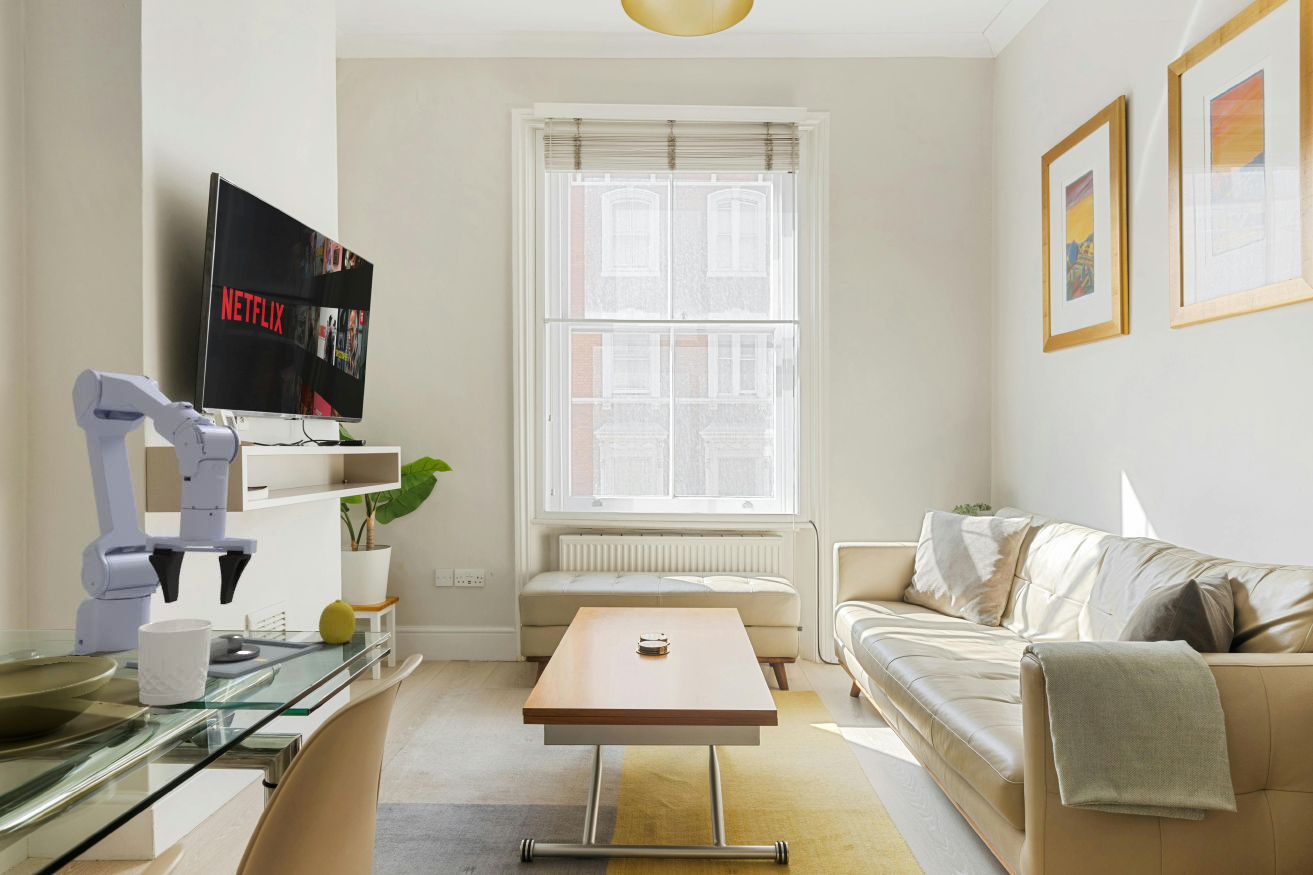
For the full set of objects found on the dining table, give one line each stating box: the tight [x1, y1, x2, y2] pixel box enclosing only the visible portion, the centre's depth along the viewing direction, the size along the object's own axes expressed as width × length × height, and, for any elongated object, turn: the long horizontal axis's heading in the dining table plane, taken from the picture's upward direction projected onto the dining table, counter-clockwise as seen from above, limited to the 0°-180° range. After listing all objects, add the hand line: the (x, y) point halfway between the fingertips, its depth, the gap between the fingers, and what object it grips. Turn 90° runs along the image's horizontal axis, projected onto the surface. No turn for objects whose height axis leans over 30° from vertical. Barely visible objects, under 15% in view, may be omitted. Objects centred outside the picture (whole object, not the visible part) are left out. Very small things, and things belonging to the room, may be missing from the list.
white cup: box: [137, 618, 214, 715], centre depth 96 cm, size 8×8×10 cm
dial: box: [209, 633, 260, 664], centre depth 114 cm, size 11×8×3 cm
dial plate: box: [125, 636, 323, 679], centre depth 115 cm, size 18×18×2 cm
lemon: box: [318, 599, 356, 645], centre depth 127 cm, size 6×6×8 cm
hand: (198, 602), depth 112 cm, fingers open, 7 cm apart
